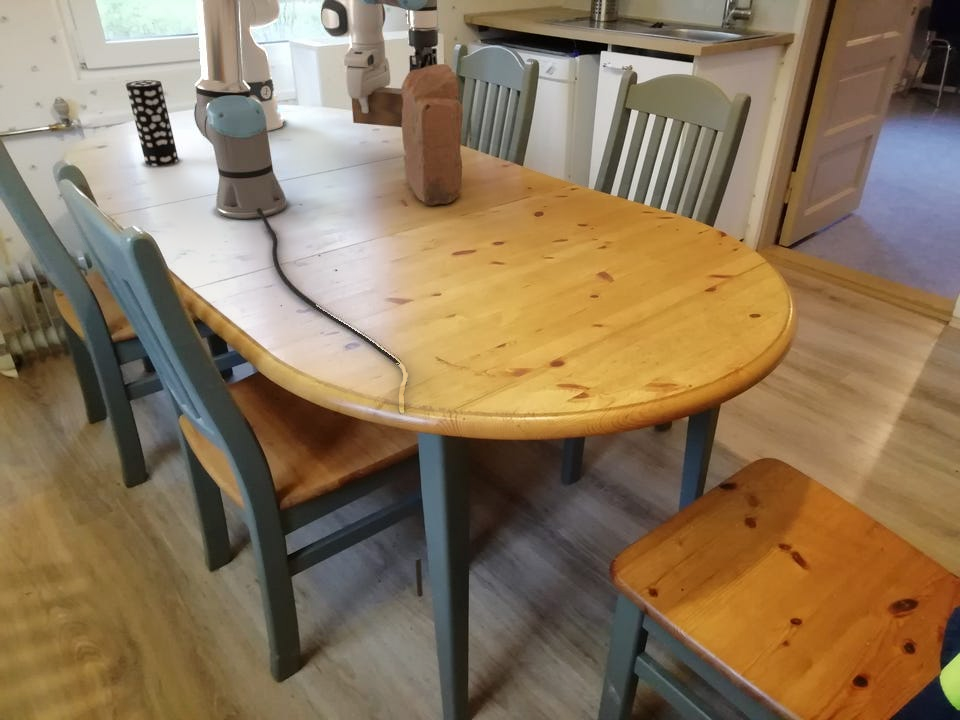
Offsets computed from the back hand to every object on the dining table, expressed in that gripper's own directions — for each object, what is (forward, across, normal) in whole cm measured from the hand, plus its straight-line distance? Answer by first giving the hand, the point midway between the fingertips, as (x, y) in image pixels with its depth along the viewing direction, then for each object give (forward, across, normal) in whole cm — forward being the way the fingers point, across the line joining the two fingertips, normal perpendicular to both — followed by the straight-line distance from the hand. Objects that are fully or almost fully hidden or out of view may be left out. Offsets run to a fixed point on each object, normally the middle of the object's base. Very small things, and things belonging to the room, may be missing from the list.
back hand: (371, 109), depth 186 cm
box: (+3, 0, +8) cm, 8 cm away
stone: (+13, +23, +26) cm, 37 cm away
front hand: (+2, 0, +15) cm, 15 cm away
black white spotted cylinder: (+3, +23, -52) cm, 57 cm away
